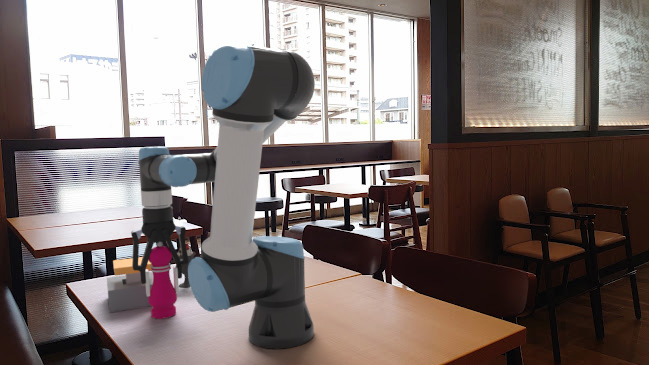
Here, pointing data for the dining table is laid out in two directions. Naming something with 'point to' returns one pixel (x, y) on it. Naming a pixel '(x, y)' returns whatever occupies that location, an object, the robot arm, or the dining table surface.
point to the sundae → (185, 266)
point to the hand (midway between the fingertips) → (162, 292)
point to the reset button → (129, 269)
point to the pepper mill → (161, 283)
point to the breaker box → (127, 293)
